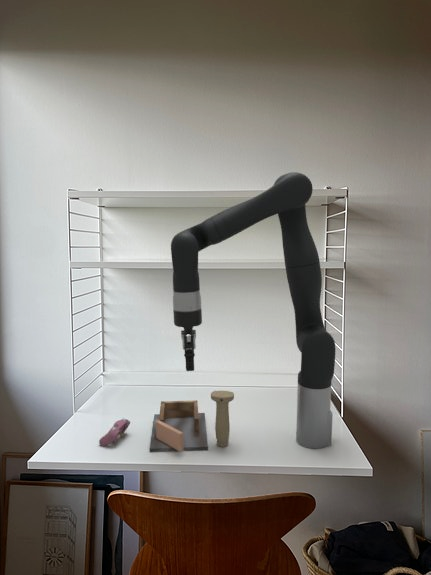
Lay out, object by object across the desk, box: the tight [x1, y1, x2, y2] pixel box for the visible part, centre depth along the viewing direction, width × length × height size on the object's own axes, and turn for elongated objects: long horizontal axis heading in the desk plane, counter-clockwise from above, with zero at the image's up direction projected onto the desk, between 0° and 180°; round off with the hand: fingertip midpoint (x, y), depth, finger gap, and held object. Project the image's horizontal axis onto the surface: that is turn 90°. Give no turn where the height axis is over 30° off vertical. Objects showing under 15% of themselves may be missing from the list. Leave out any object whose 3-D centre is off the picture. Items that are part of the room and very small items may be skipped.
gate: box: [153, 419, 183, 452], centre depth 133 cm, size 12×2×5 cm, turn 44°
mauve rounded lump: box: [98, 417, 131, 447], centre depth 138 cm, size 10×5×7 cm, turn 163°
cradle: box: [149, 400, 209, 453], centre depth 142 cm, size 16×22×6 cm
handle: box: [210, 390, 235, 448], centre depth 134 cm, size 5×6×15 cm
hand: (189, 365), depth 131 cm, fingers open, 8 cm apart
